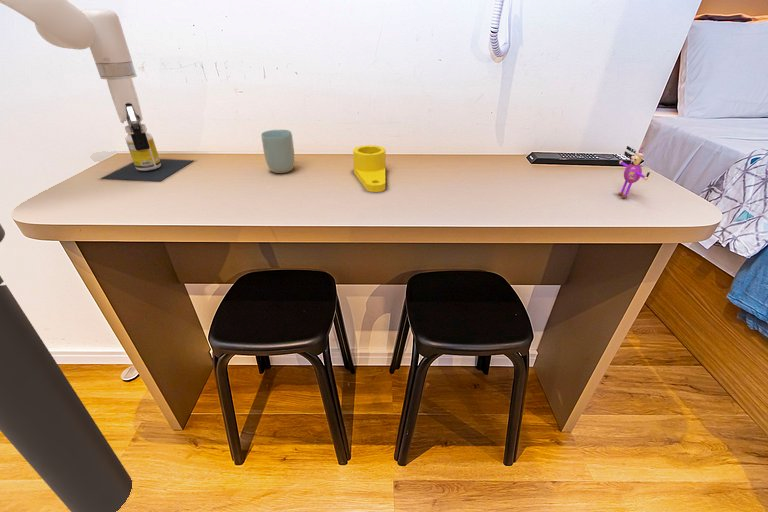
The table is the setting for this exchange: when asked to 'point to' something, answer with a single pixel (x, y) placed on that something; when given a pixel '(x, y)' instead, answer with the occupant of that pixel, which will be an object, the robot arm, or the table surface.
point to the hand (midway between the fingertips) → (141, 145)
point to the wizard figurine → (632, 170)
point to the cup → (278, 150)
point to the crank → (370, 167)
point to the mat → (152, 175)
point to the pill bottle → (143, 152)
